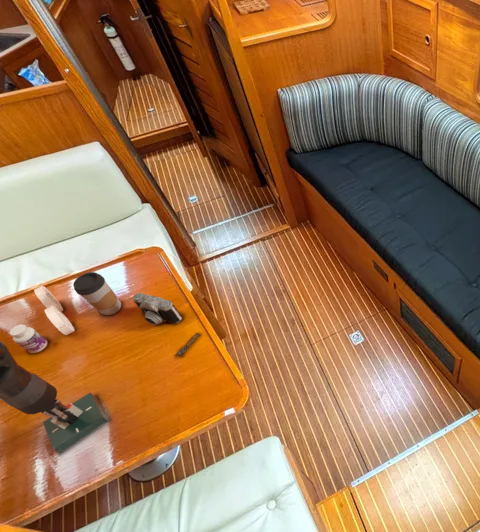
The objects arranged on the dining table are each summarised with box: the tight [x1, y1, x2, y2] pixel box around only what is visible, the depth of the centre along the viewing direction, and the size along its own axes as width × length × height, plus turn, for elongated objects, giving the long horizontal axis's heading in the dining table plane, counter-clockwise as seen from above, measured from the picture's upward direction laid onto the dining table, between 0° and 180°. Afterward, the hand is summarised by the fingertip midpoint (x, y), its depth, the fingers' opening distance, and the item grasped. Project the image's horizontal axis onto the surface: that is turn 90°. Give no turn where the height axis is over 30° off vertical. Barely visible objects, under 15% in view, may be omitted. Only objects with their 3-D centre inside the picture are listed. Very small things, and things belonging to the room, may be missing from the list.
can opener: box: [176, 332, 200, 357], centre depth 126 cm, size 9×2×1 cm, turn 151°
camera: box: [132, 292, 183, 326], centre depth 130 cm, size 15×7×10 cm, turn 72°
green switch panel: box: [42, 392, 109, 453], centre depth 109 cm, size 12×10×3 cm
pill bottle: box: [9, 323, 48, 354], centre depth 123 cm, size 5×5×10 cm
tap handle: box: [51, 402, 83, 429], centre depth 106 cm, size 6×1×5 cm, turn 152°
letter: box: [33, 285, 75, 336], centre depth 130 cm, size 22×2×10 cm, turn 46°
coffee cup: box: [72, 271, 122, 316], centre depth 131 cm, size 8×8×15 cm
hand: (71, 418), depth 108 cm, fingers closed
